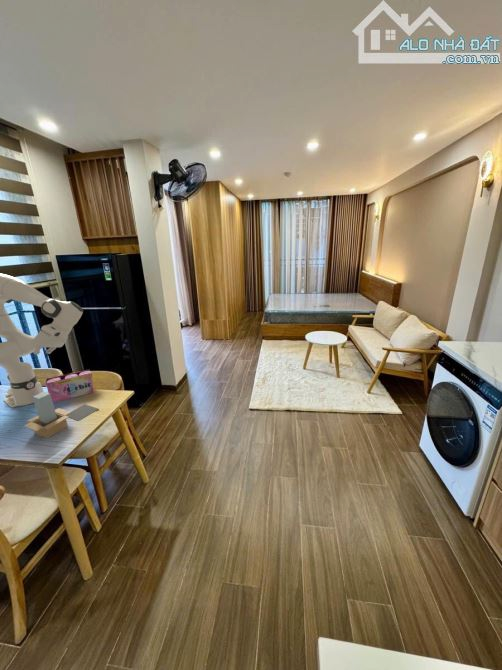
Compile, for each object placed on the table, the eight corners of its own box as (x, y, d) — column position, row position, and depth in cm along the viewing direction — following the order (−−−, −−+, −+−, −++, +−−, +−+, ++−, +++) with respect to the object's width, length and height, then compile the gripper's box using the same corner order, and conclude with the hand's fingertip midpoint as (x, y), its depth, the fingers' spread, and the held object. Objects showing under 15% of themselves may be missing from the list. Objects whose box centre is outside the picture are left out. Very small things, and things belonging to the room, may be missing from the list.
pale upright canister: (43, 431, 129) (32, 396, 123) (53, 425, 134) (43, 391, 128) (49, 433, 128) (38, 398, 121) (59, 427, 132) (50, 393, 126)
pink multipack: (95, 386, 174) (91, 368, 169) (96, 391, 167) (92, 373, 163) (51, 397, 160) (46, 378, 156) (51, 403, 154) (45, 383, 150)
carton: (24, 435, 127) (20, 424, 125) (58, 417, 141) (55, 406, 139) (44, 444, 121) (40, 432, 119) (77, 424, 135) (74, 413, 133)
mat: (64, 416, 142) (63, 415, 142) (84, 405, 152) (84, 404, 152) (78, 421, 137) (78, 420, 137) (98, 409, 148) (98, 408, 148)
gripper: (64, 328, 142) (48, 350, 140) (40, 325, 122) (21, 350, 120) (74, 335, 143) (59, 356, 141) (52, 333, 122) (34, 357, 121)
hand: (41, 353), depth 130 cm, fingers open, 8 cm apart
